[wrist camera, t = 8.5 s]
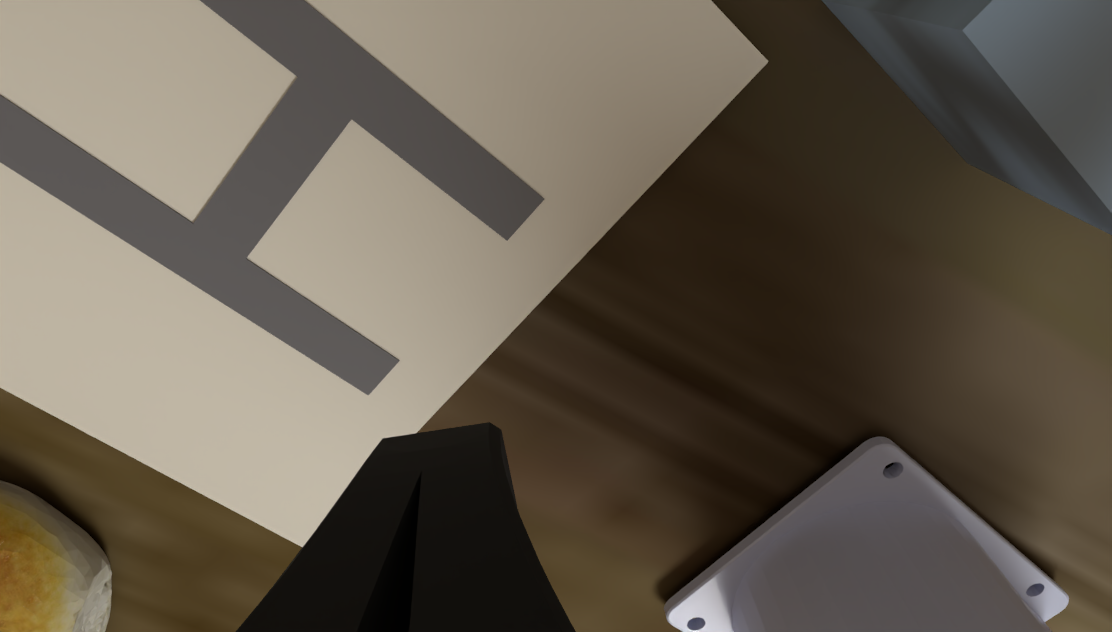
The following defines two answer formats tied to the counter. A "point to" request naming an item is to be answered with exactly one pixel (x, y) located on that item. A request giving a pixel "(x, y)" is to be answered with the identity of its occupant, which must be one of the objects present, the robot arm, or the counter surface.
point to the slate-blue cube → (1007, 87)
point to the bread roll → (49, 569)
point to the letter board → (314, 210)
